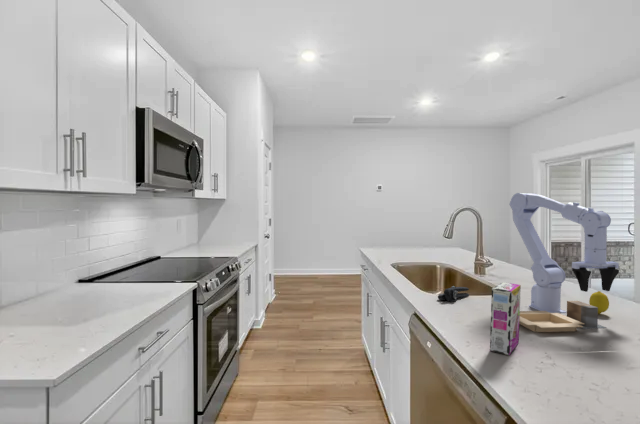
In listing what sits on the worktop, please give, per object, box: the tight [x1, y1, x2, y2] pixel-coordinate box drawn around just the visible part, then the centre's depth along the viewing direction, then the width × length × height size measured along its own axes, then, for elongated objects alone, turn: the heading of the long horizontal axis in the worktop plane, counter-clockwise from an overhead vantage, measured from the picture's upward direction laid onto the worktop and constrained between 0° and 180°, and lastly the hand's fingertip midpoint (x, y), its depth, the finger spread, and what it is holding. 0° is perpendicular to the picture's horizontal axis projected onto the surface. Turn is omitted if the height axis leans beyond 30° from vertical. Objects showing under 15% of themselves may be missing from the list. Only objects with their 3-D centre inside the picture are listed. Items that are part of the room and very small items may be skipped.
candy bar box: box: [489, 282, 521, 356], centre depth 98 cm, size 11×5×16 cm, turn 141°
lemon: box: [588, 290, 610, 315], centre depth 129 cm, size 6×6×8 cm
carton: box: [519, 310, 584, 333], centre depth 115 cm, size 16×18×2 cm
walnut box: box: [566, 300, 599, 327], centre depth 118 cm, size 8×4×6 cm, turn 4°
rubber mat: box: [578, 324, 607, 329], centre depth 118 cm, size 10×8×1 cm
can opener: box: [437, 285, 470, 303], centre depth 149 cm, size 18×7×6 cm, turn 127°
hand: (595, 290), depth 119 cm, fingers open, 7 cm apart
